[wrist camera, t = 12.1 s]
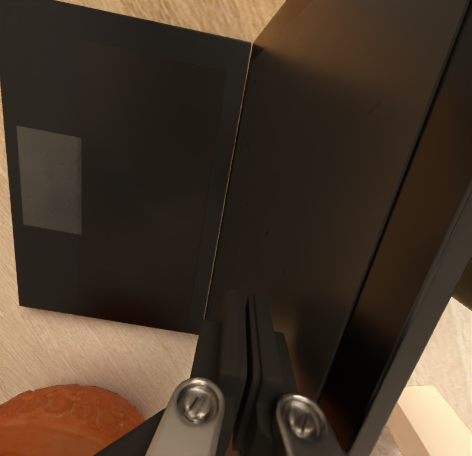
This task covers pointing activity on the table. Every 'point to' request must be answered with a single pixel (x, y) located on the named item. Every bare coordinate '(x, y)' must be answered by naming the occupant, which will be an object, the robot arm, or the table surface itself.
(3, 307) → the table surface
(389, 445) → the table surface
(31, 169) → the laptop
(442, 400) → the milk
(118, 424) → the bowl
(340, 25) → the laptop screen
